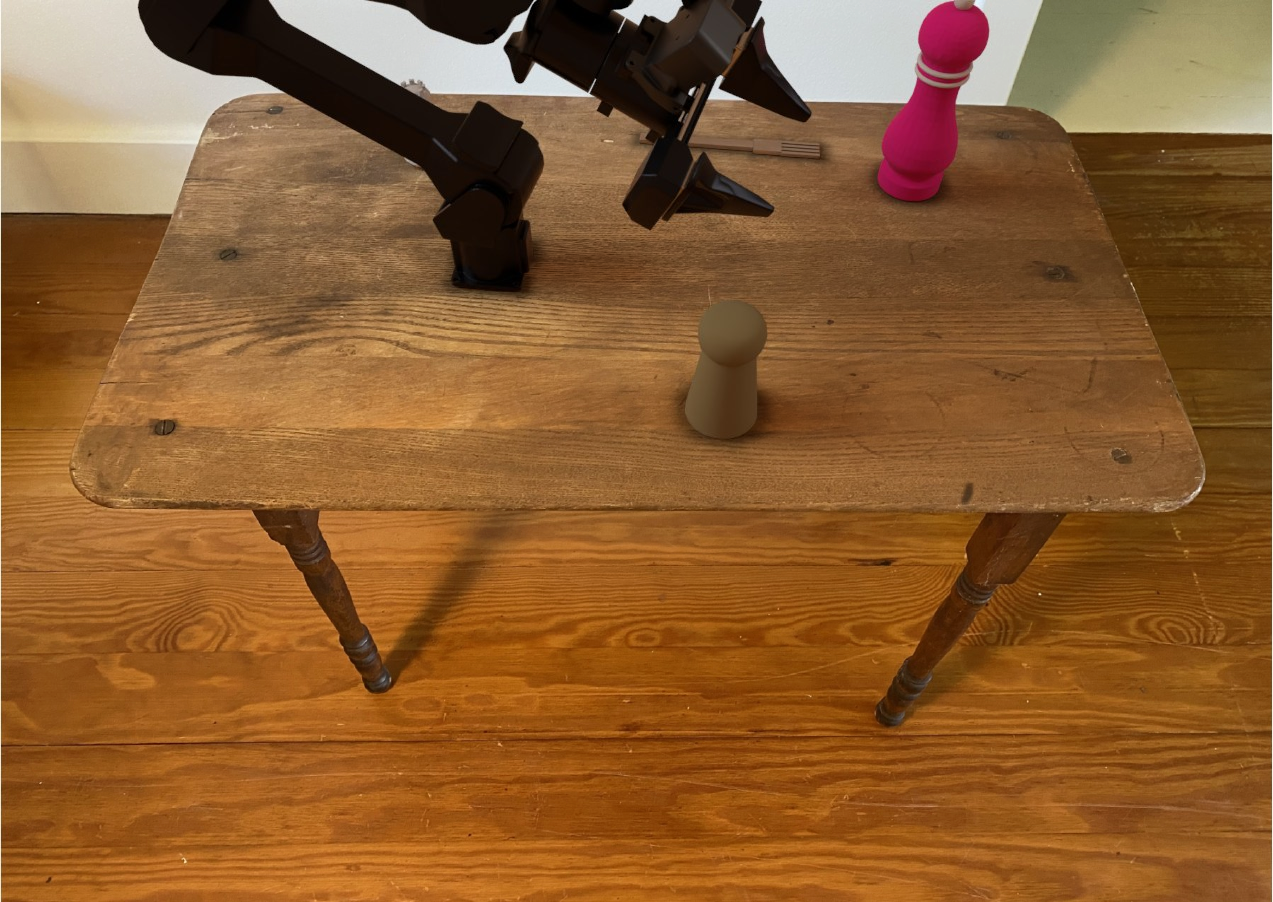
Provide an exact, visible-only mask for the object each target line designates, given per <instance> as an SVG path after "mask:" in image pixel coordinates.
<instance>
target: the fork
mask: <svg viewBox="0 0 1273 902" xmlns="http://www.w3.org/2000/svg"><path fill="white" fill-rule="evenodd" d="M647 133H648V132H640V135H639V144H647V145H654V144H653V143H652V142H650V141H648V140H646V139H645V137H646V135H647ZM662 137H664V136H662ZM688 147H689V148H690V147H691V148H702V149H703V148H704V149H705V148H706V149H717V150H730V151H731V150H733V151H745V152H746V151H747V152H752V154H754V155H755V154H757V155H770V156H781V157H789V158H803V159H815V160H816V159H817V160H820V156H821V153H820V142H809V141H808V142H807V141H796V140H795V141H793V140H781V139H767V138H753V139H752V140H751V139H750V140H749V139H738V138H737V139H735V138H720V137H708V136H693V135H692V136H691V138H690V140H689V143H688Z"/></svg>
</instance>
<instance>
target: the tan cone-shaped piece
mask: <svg viewBox="0 0 1273 902" xmlns="http://www.w3.org/2000/svg"><path fill="white" fill-rule="evenodd" d="M767 325H768V324H767V322H766V320H765V318H764V316H763V314H762V313H761V311H760V310H759V309H758V308H757V307H756V306H755V305H752V304H750V303H748V302H746V301H742V300H739V299H725V300H720V301H717V302H716V303H713V304H712V305H711V306H710V307H708V308H707V310H706V311H705V312H703V314H702V316H701V317H700V320H699V323H698V325H697V340H698V345H699V346H700V349H701V351H700V354H699V358H698V361H697V364H696V367H695V371H694V374H693V377H692V381H691V384H690V387H689V390H688V394H687V397H686V400H685V404H684V409H685V410H684V413H685V416H686V419H687V421H688V423H689V424H690V425H691V427H692V428H694V430H696V431H697V432H699V433H700V434H702V435H703V436H706V437H709V438H713V439H718V440H720V439H721V440H729V439H733V438H738V437H741V436H742V435H744V434H746V433H748V432H749V431H750V430H751V429H752V428H753V426H754V425H755V423H756V421H757V418H758V357H759V356H760V355H761V353H762V352H763V350H764V348H765V345H766V343H767V340H768V326H767Z"/></svg>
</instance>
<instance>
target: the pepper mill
mask: <svg viewBox="0 0 1273 902" xmlns="http://www.w3.org/2000/svg"><path fill="white" fill-rule="evenodd" d="M975 2H976V0H948V1H945V2H942V3H940V4H938V5H936V6H935V7H933V8H932V9H931V10H930V11H928V13H927V14H926V15H925V17H924V18H923V20H922V22H921V24H920V26H919V30H918V35H917V43H918V44H917V45H918V47H919V49H920V52H919V53H918V55H917V57H916V63H915V65H914V73H915V75H916V81H915V85H914V88H913V91H912V93H911V96H910V98H909V99H908V101H907V102H906V103H905V104H904V106H903V107H902V109H900V111H898V113H897V114H896V115H895V116H894V117H893V119H892V120H891V121H890V123H889V124H888V125H887V127H886V129H885V132H884V134H883V137H882V140H881V152H882V153H881V154H882V155H883V159H882V160H881V162H880V166H879V170H878V173H877V183H878V184H879V186H880V188H881V189H882V191H884V192H885V193H886V194H888V195H889V196H891V197H893V198H895V199H898V200H901V201H905V202H921V201H926V200H928V199H930V198H932V197H933V196H935V195H936V193H937V192H938V191H939V189H940V186H941V183H942V180H943V177H944V171H945V170H947V168H949V167H950V166H951V164H952V163H953V162H954V160H955V158H956V155H957V150H958V145H959V129H958V122H957V114H956V107H957V99H958V95H959V91H960V90H961V87H962V86H964V85H965V84H967V82H969V80H970V78H971V72H973V69H974V62H975V61H976V60H977V59H979V58H980V56H981V55H982V54H983V53H984V52H985V50H986V48H987V46H988V42H989V38H990V25H989V20H988V17H987V16H986V13H984V11H982V9H980V7H979V6H977V5H976V4H975Z"/></svg>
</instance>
